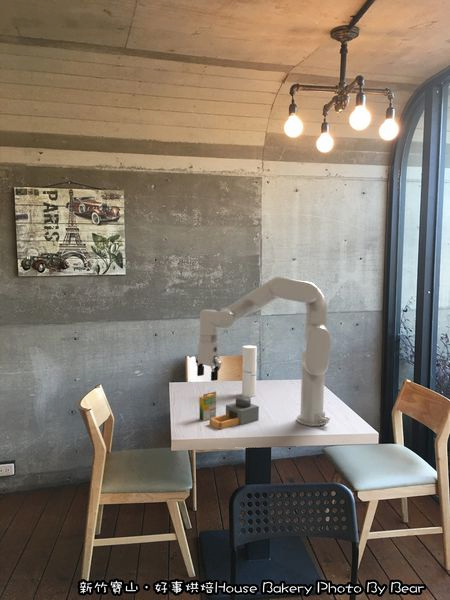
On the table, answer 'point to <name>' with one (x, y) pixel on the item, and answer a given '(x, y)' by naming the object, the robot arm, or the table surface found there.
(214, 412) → the crayon box
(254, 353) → the cylindrical container
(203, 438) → the table surface
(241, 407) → the multicoloured piece
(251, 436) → the table surface
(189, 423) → the table surface
